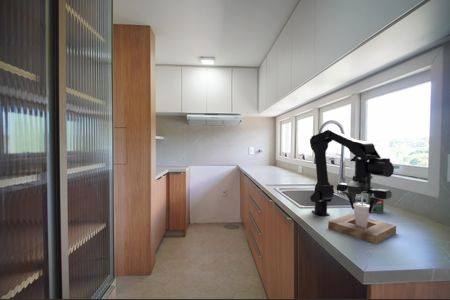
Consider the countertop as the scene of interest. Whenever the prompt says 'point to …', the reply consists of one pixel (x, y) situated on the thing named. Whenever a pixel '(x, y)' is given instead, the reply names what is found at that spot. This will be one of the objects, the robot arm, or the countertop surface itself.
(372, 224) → the hole board
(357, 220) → the smoothie
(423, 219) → the countertop surface
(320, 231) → the countertop surface
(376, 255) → the countertop surface
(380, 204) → the canned tomato
